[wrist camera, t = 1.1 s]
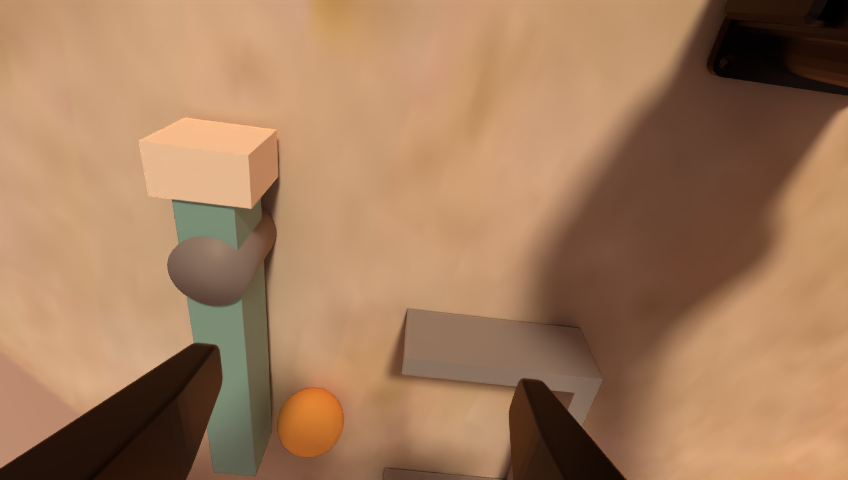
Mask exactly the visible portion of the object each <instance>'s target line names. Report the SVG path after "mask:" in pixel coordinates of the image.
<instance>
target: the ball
mask: <svg viewBox="0 0 848 480" xmlns="http://www.w3.org/2000/svg"><path fill="white" fill-rule="evenodd" d="M343 423H344V415H343V410H342V407H341V405H340V403H339V401H338V400H337V398H336V397H335V396H334V395H333V394H331V393H330V392H328V391H326V390H324V389H320V388H307V389H303V390H300V391H298V392H296V393H295V394H293V395H292V396H291V397H290V398H289V399H288V400H287V401H286V402H285V403H284V405H283V407H282V408H281V411H280V413H279V416H278V422H277V430H278V435H279V438H280V441H281V442H282V444H283V445H284V447H285V448H286V449H287V450H288V451H289V452H291V453H292V454H294V455H297V456H300V457H315V456H318V455H321V454H323V453H325V452H326V451H328V450H329V449H330V448H331V447H332V446H333V445H334V444H335V443H336V442H337V440H338V439H339V437H340V435H341V432H342V429H343Z"/></svg>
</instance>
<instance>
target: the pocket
mask: <svg viewBox="0 0 848 480" xmlns="http://www.w3.org/2000/svg"><path fill="white" fill-rule="evenodd" d="M402 375H411V376H421V377H430V378H440V379H449V380H459V381H468V382H478V383H487V384H496V385H506V386H515V387H517V384H518V382H519V380H520V379H522V378H529V379H538V380H541V381H543V382H544V383H545V384H546V385H547V386H548V388H549V389H550V390H551V391H552V392H553V394H554V395H555V396H556V397H557V398H558V399H559V401H560V402H561V403H562V404H563V405H564V407H565V408H566V409H567V410H568V411H569V412H570V414H571V415H572V416H573V417H574V418H575V420H576V421H577V422H578V423H579V424H580V425H581V427H582V425H583V423H584V421H585V419H586V416H587V414H588V412H589V410H590V408H591V405H592V403H593V401H594V399H595V396H596V394H597V392H598V390H599V388H600V385H601V383H602V381H603V378H602V376H601V373H600V371H599V369H598V367H597V365H596V362H595V360H594V358H593V356H592V353H591V351H590V349H589V347H588V344H587V342H586V340H585V338H584V336H583V333H582V331H581V329H580V328H573V327H564V326H556V325H547V324H538V323H529V322H520V321H511V320H503V319H494V318H485V317H476V316H467V315H459V314H450V313H441V312H432V311H423V310H415V309H408V310H407V317H406V324H405V337H404V350H403V364H402ZM383 480H513V472H512V465H511V467H510V470H509V473H508V476H507V478H506V479H495V478H484V477H474V476H463V475H452V474H442V473H431V472H421V471H410V470H399V469H389V468H385V470H384V477H383Z"/></svg>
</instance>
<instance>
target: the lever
mask: <svg viewBox="0 0 848 480" xmlns="http://www.w3.org/2000/svg"><path fill="white" fill-rule="evenodd" d="M138 142H139V147H140V153H141V158H142V164H143V169H144V175H145V180H146V186H147V192H148V196H152V197H160V198H168V199H172V203H173V210H174V216H175V223H176V229H177V236H178V242H179V244H178V245H177V246H176V247H175V248H174V249H173V251H172V252H171V253H170V255H169V258H168V264H167V267H168V273H169V276H170V278H171V280H172V282H173V283H174V284H175V286H176V287H177V288H178V289H179V290H180V291H181V292H182V293H183V294H185V295H186V296H187V301H188V308H189V314H190V321H191V327H192V334H193V340H194V343H197V342H199V343H208V344H215V345H217V346H218V347H219V349H220V356H221V364H222V373H223V381H222V386H221V390H220V393H219V395H218V398H217V401H216V403H215V406H214V409H213V412H212V414H211V417H210V420H209V422H208V425H207V432H208V438H209V445H210V451H211V458H212V464H213V471H214V472H215V473H225V474H236V475H247V476H256V474H257V471H258V469H259V466H260V463H261V460H262V457H263V455H264V452H265V449H266V446H267V444H268V441H269V438H270V435H271V433H272V421H271V400H270V379H269V358H268V337H267V317H266V296H265V275H264V259H265V258H266V256H267V254H268V253H269V251H270V250H271V248H272V246H273V245H274V243H275V240H276V227H275V224H274V221H273V219H272V218H271V216H270V215H269V214H268V213H267V211H266V210H264V209H263V208H262V207H261V197H262V196H263V194H264V193H265V192H266V191H267V190H268V188H269V187H270V186H271V185H272V184H273V182H274V181H275V180H276V179H277V177H278V151H277V130H275V129H268V128H260V127H253V126H245V125H238V124H230V123H223V122H215V121H208V120H200V119H192V118H183V119H181V120H179V121H177V122H175V123H173V124H171V125H169V126H167V127H165V128H163V129H161V130H159V131H157V132H155V133H153V134H151V135H149V136H147V137H145V138H143V139H141V140H139V141H138Z"/></svg>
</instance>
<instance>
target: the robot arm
mask: <svg viewBox="0 0 848 480" xmlns="http://www.w3.org/2000/svg"><path fill="white" fill-rule="evenodd" d="M725 13H726V17H725V19H724V22H723V24H722V27H721V29H720V31H719V34H718V36H717V39H716V41H715V44H714V46H713V48H712V51H711V53H710V56H709V58H708V62H707V69H708V71H709V72H710V73H711V74H713V75H716V76H720V77H725V78H732V79H739V80H746V81H752V82H759V83H766V84H773V85H780V86H786V87H793V88H800V89H807V90H814V91H820V92H827V93H834V94H841V95H848V0H729V1H728V3H727V6H726V8H725ZM725 56H727V57H728V62H727V64H726V65H725V66H724V67H722V68H720V61H721V60H722V58H724V57H725ZM222 381H223V373H222V364H221V356H220V349H219V347H218V346H217V345H215V344H208V343H199V342H197V343H193V344H191V345H189V346H188V347H186V348H185V349H183V350H182V351H180V352H179V353H177V354H176V355H174V356H173V357H171V358H169V359H168V360H166V361H165V362H163V363H162V364H160V365H159V366H157V367H156V368H154V369H153V370H151V371H149V372H148V373H146V374H145V375H143V376H142V377H140V378H139V379H137V380H136V381H134V382H133V383H131V384H129V385H128V386H126V387H125V388H123V389H122V390H120V391H119V392H117V393H116V394H114V395H113V396H111V397H109V398H108V399H106V400H105V401H103V402H102V403H100V404H99V405H97V406H96V407H94V408H93V409H91V410H89V411H88V412H86V413H85V414H83V415H82V416H80V417H79V418H77V419H76V420H74V421H73V422H71V423H69V424H68V425H66V426H65V427H63V428H62V429H60V430H59V431H57V432H56V433H54V434H53V435H51V436H50V437H48V438H46V439H45V440H43V441H42V442H40V443H39V444H37V445H36V446H34V447H33V448H31V449H30V450H28V451H27V452H25V453H24V454H22V455H20V456H19V457H17V458H16V459H14V460H13V461H11V462H9V463H8V464H7V465H5V466H3V467H2V468H0V480H186V479H187V476H188V474H189V472H190V470H191V467H192V465H193V462H194V460H195V457H196V455H197V452H198V449H199V447H200V444H201V441H202V439H203V436H204V433H205V430H206V428H207V425H208V422H209V420H210V417H211V414H212V412H213V409H214V406H215V403H216V401H217V398H218V395H219V393H220V390H221V386H222ZM509 428H510V442H511V457H512V472H513V480H626V479H625V477H624V476H623V475H622V474H621V473H620V471H619V470H618V469H617V468H616V467H615V466H614V464H613V463H612V462H611V461H610V460H609V458H608V457H607V456H606V455H605V454H604V453H603V451H602V450H601V449H600V448H599V447H598V445H597V444H596V443H595V442H594V441H593V440H592V438H591V437H590V436H589V435H588V434H587V433H586V431H585V430H584V429H583V428H582V427H581V425H580V424H579V423H578V422H577V421H576V420H575V418H574V417H573V416H572V415H571V414H570V412H569V411H568V410H567V409H566V408H565V407H564V405H563V404H562V403H561V402H560V401H559V399H558V398H557V397H556V396H555V395H554V394H553V392H552V391H551V390H550V389H549V388H548V386H547V385H546V384H545V383H544V382H543V381H541V380H538V379H529V378H522V379H520V380H519V382H518V384H517V387H516V390H515V393H514V396H513V399H512V402H511V405H510V410H509Z"/></svg>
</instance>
